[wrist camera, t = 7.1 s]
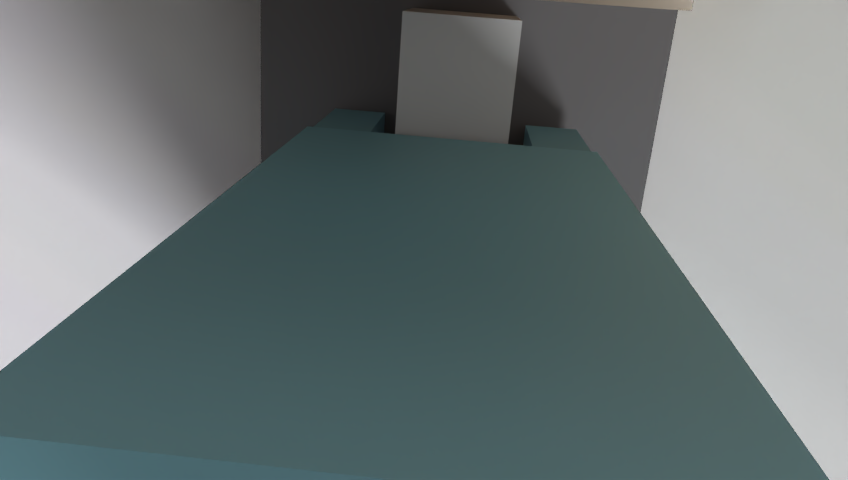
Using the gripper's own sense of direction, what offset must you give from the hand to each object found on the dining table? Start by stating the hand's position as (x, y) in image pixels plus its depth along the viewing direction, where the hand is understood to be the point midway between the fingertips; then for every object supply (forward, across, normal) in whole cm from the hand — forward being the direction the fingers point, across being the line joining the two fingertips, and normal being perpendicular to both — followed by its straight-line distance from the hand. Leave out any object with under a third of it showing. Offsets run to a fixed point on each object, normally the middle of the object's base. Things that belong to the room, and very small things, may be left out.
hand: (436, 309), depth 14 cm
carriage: (+1, 0, 0) cm, 1 cm away
